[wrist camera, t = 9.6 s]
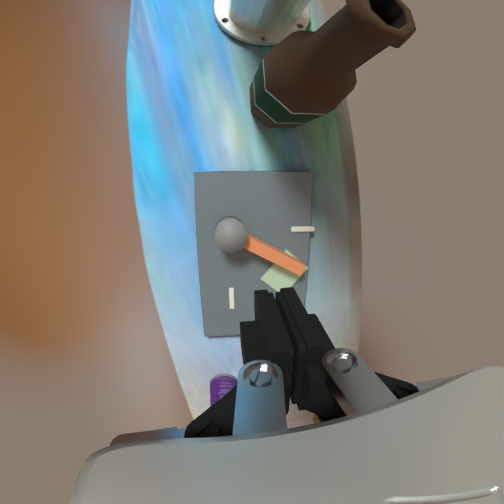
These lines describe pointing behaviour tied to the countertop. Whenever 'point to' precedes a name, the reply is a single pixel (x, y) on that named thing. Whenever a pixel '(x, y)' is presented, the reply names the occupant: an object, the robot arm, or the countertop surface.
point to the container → (221, 386)
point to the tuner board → (258, 225)
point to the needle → (252, 244)
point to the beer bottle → (325, 61)
